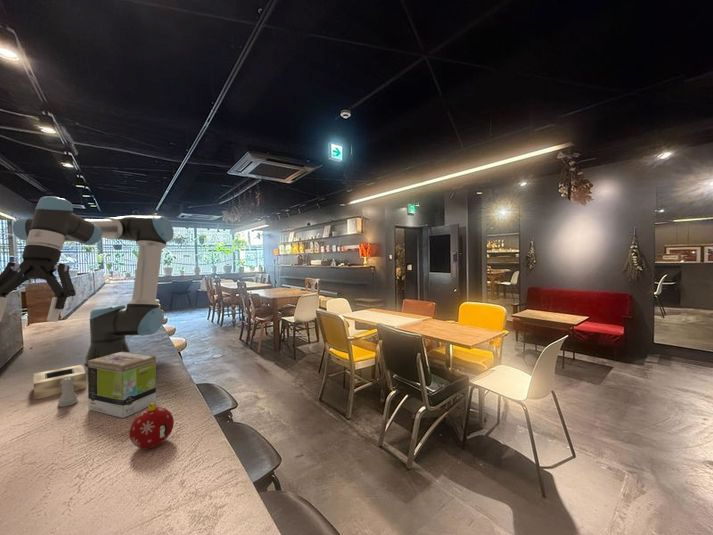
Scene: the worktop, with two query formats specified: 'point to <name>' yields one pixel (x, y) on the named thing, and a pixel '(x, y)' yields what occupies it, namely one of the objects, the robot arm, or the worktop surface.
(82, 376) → the socket block
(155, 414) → the christmas ornament
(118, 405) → the tea box
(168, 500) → the worktop surface
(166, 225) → the robot arm
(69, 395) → the rook chess piece
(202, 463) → the worktop surface
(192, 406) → the worktop surface
